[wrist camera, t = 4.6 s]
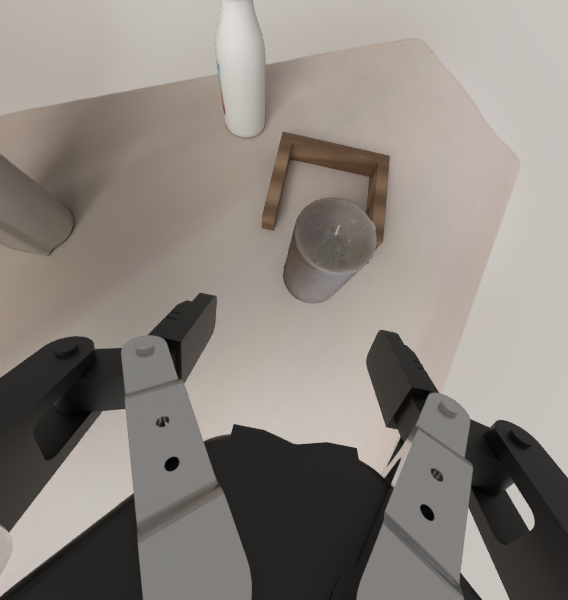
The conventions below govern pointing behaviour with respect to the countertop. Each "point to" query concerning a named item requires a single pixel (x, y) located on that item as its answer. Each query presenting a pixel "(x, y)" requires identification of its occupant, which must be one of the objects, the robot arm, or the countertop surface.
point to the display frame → (335, 159)
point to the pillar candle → (327, 248)
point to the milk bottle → (241, 67)
